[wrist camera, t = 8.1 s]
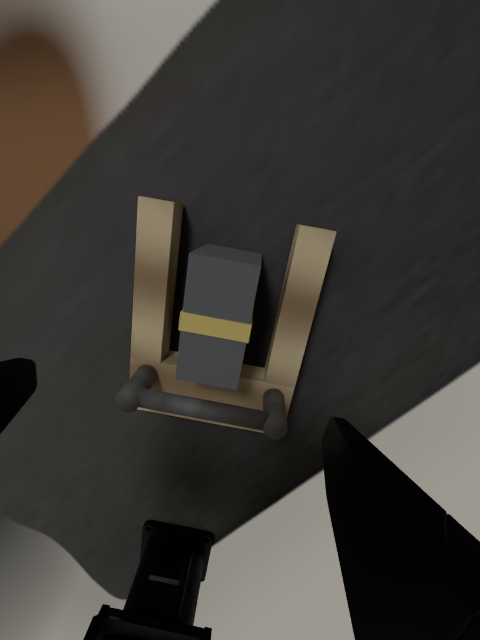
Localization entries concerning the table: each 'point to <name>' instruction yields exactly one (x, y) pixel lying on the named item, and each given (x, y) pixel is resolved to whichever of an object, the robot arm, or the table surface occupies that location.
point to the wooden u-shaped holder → (255, 382)
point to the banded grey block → (217, 315)
